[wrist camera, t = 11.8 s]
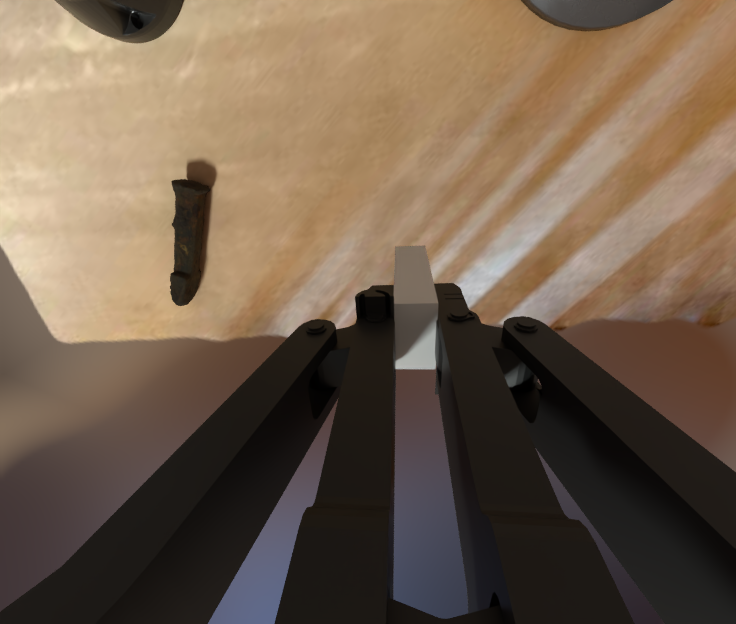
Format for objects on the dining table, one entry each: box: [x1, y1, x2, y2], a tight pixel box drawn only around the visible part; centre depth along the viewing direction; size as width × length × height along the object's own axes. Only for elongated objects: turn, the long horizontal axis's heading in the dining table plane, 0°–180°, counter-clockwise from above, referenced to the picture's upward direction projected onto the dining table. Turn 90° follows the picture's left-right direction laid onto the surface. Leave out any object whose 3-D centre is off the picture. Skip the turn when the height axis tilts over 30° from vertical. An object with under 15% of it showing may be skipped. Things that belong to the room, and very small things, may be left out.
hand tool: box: [170, 179, 210, 306], centre depth 47 cm, size 19×4×5 cm, turn 160°
